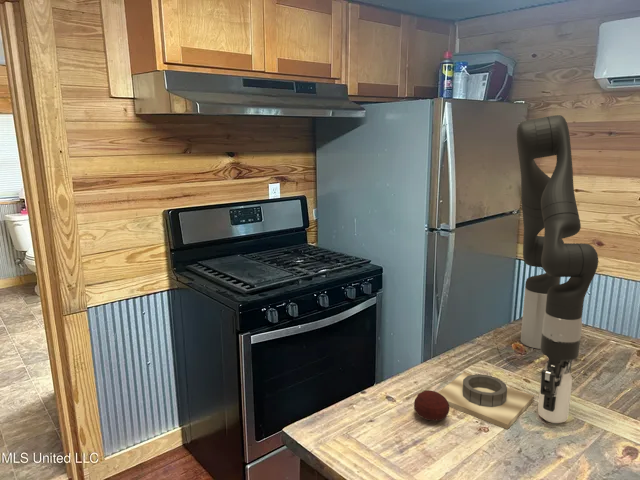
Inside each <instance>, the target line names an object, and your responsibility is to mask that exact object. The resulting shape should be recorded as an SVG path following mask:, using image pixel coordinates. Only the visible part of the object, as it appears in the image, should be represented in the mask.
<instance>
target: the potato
mask: <svg viewBox="0 0 640 480" xmlns="http://www.w3.org/2000/svg"><path fill="white" fill-rule="evenodd" d="M438 392H439V391H438ZM438 392H437V391H434V390H430V389H429V390H426V389H425V390H423V391H422V392H420V393H417V395H416V397H415V399H414V403H413V407H414V411H415V412H416V414H417V415H418V416H420V417H421V418H422V419H424V420H428V421H441V420H444V419H445V418H446V417H447V416H448V415H449V412H450V406H449V403H448V401H447V399H446V398H445V397H444V396H442V395H441V394H439V393H438Z"/></svg>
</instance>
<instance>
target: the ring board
mask: <svg viewBox="0 0 640 480" xmlns="http://www.w3.org/2000/svg"><path fill="white" fill-rule="evenodd" d="M438 393H439V394H441V395H442V396H444V397H445V398H446V399H447V401H448V403H449V408H450V407H451V408H453V409H455V410H456V411H457V410H458V411H460V412H463V413H465V414H468V415H470V416H472V417H475V418H478V419H480V420H483V421H485V422H488V423H490V424H493V425H495V426H497V427H499V428H502V429H505V430H508V429H509V428H510V427H511V426H512V425H513V424H514V423H515V421H516V420H517V419H518V418H519V417H520V416H521V415H522V414H523V413H524V411H526V409H527V408H528V407H529V406H530V405H531V404H532V403H533V402H534V399H535V395H533V394H530V393H527V392H525V391H521V390H518V389H515V388H512V387H509V386H507V384H506V382H504V381H503V380H502V379H500V378H498V377H495V376H493V375H489V374H481V373H480V374H479V373H477V374H476V373H475V374H472V373H468V372H465V371H464V372H463V373H461V374H460V375H458V376H457V377H456V378H454V379H453V380H452V381H451V382H449V383H448V384H447V385H446V386H444V387H443V388H442V389H440V391H438Z"/></svg>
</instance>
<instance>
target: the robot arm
mask: <svg viewBox="0 0 640 480" xmlns="http://www.w3.org/2000/svg"><path fill="white" fill-rule="evenodd" d="M566 120H567V119H566V118H565V117H564V116H563V115H561V114H560V115H559V114H557V115H549V116H543V117H539V118H532V119H528V120H524V121H521V122H520V123H518V126H517V127H516V128H517V129H516V144H517V145H516V147H517V153H518V163H519V169H520V178H521V179H520V181H521V182H520V186H521V187H520V189H521V191H520V192H521V196H520V197H521V213H522V221H523V239H522V241H523V243H522V257H523V262H524V263H525V264H526V265H527V266H530V267H536V268H541V269H543V271H544V273H541V274H538V275H532V276H529V277H528V278H527V277H526V280H525V288H524V297H523V299H524V300H523V308H522V319H521V320H522V321H521V330H520V331H521V332H520V343H522V344H523V345H524V346H527V347H530V348H533V349H537V350H538V349H539V350H540V352H541V353H542V355H545V356H546V357H547V358H548V360H546V362H545V365H544V369H546V370H544V369H542V370H541V372H540V373H541V375H540V382H541V391H540V390H539V392H541V394H543V395H544V403H543V408H544V409H546V410H548V411H551V412H553V411H554V410H555V402H556V395H557V390H558V387H559V386H561V382H562V378H563V374H565V372H566V370H568V369H569V370H570V372H571V369H572V365H573V364H572V363H573V361H574V360H577V358H579V354H580V346H581V338H582V329H583V327H582V326H583V324H582V322H583V320H582V317H583V309H584V300H585V297H586V295H587V292H588V290H589V288H590V285H591V283H592V281H593V278H594V277H595V275H596V273H597V269H598V267H599V266H598V265H599V255H598V252H597V250H596V248H594V247H593V245H591V244H588V243H582V242H581V243H567V242H566V243H565V242H564V239H567V238H570V237H573V236H575V235H577V234H578V233H579V232H580V231H581V227H582V224H581V219H580V216H579V211H578V204H577V201H576V195H575V187H574V171H573V170H574V169H573V159H572V158H573V155H572V146H571V137H570V129H569V125H568V123H567V122H568V121H566ZM554 156H556V163H555V167H554V170H553V172H552V174H551V176H548V174H546V173H545V172H544V171H543V170H542V169H541V168H540V167H539V166H538V164H537V162H536V161H535V159H542V158H547V157H554ZM543 230H544V232H543V233H544V236H542V235H539V234H540V233H541V231H543ZM561 278H569V279H568V280H567V281H565V282H564V283H563V282H562V283H561ZM558 378H559V379H558ZM555 379H558V382H555ZM548 388H550V389H548Z"/></svg>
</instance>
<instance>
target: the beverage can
mask: <svg viewBox="0 0 640 480" xmlns="http://www.w3.org/2000/svg"><path fill="white" fill-rule="evenodd" d="M543 370H546V369H545V368H544V369H543ZM558 379H559V378H558ZM558 379H555V382H558ZM539 385H540V386H539V394H538V402H537V403H538V405H537V414H538V415H539V417H541V418H542V419H543V420H545V421H546V422H549V423H552V424H561V423H564V422H567V420H568V418H569V411H570V402H571V394H572V386H573V377H572V374H571V371H570V370H569V369H568V370H566V372H565V374H563V378H562V382H561V386H559V387H558V390H557V395H556V402H555V410H554V411H553V412H551V411H548V410H546V409H544V408H543V403H544V395H543V394H541V392H540V391H541V381H540V382H539ZM548 389H550V388H548Z"/></svg>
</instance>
